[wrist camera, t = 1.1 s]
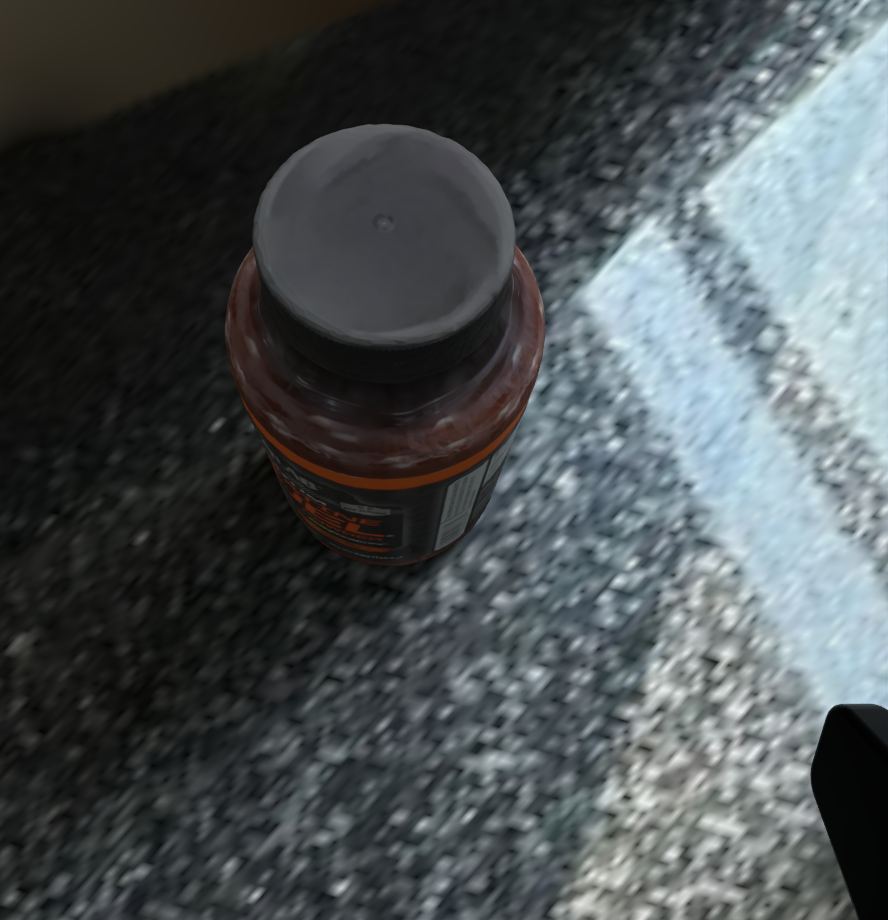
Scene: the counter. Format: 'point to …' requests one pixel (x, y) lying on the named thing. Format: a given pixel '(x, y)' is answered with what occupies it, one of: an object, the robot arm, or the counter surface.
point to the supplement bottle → (385, 339)
